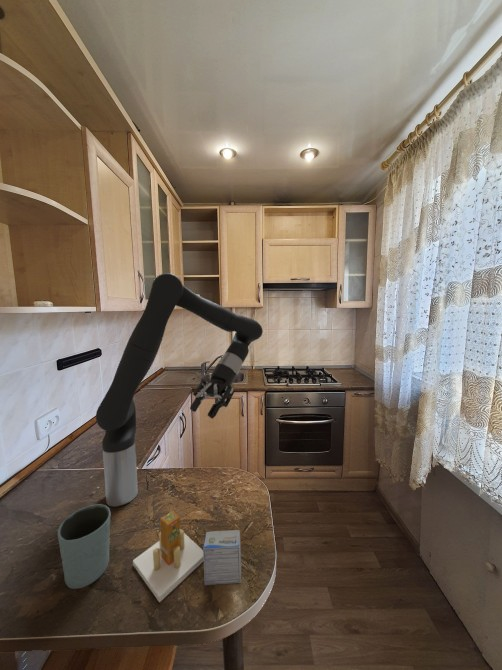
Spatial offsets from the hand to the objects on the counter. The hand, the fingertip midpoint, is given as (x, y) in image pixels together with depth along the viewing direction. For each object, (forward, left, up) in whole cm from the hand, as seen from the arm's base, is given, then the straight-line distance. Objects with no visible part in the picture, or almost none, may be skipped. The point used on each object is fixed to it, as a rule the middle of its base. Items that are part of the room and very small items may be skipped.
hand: (200, 413), depth 75 cm
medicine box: (+20, -11, -29) cm, 37 cm away
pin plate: (+8, -17, -29) cm, 34 cm away
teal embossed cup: (-5, -30, -29) cm, 42 cm away
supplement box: (+8, -16, -28) cm, 33 cm away
